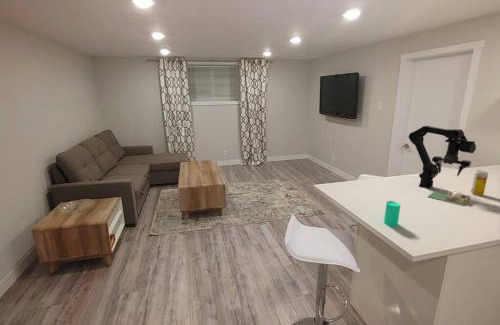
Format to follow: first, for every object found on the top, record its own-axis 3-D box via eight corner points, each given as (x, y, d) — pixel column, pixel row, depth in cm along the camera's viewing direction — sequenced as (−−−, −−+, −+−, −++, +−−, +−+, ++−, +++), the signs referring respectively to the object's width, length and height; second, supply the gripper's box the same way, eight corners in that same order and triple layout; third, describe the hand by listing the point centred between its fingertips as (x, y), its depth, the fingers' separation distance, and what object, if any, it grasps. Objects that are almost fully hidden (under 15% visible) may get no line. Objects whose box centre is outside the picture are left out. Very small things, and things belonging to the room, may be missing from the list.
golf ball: (463, 193, 153) (458, 199, 153) (463, 194, 156) (459, 201, 156) (454, 189, 156) (450, 195, 156) (454, 191, 159) (450, 197, 159)
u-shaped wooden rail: (444, 199, 156) (445, 195, 156) (448, 195, 162) (449, 191, 161) (465, 204, 149) (466, 200, 148) (469, 200, 155) (469, 196, 154)
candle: (381, 220, 131) (384, 198, 128) (392, 220, 131) (395, 197, 128) (388, 226, 125) (391, 203, 122) (400, 226, 126) (403, 202, 123)
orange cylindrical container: (485, 196, 161) (490, 172, 158) (474, 195, 162) (479, 172, 159) (479, 193, 167) (484, 170, 163) (468, 192, 168) (473, 169, 165)
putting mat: (427, 197, 161) (427, 196, 161) (434, 191, 170) (434, 191, 170) (464, 206, 148) (464, 205, 147) (469, 199, 156) (470, 199, 156)
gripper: (431, 149, 163) (427, 173, 167) (469, 154, 149) (464, 180, 153) (436, 147, 170) (432, 170, 174) (473, 151, 156) (468, 176, 160)
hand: (448, 174), depth 165 cm, fingers open, 9 cm apart
